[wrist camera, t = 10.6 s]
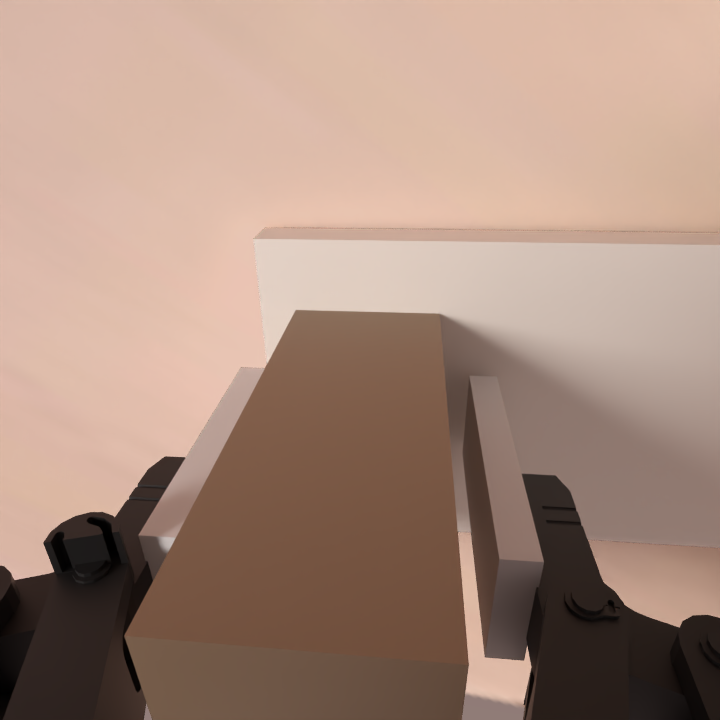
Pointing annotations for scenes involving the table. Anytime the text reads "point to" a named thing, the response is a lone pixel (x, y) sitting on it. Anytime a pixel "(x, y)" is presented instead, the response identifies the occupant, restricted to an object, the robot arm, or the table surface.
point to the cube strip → (552, 353)
